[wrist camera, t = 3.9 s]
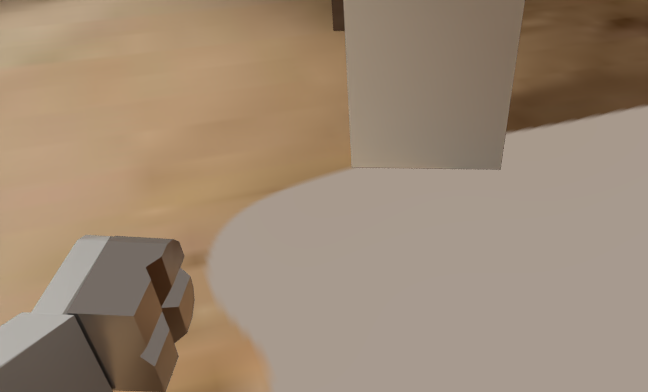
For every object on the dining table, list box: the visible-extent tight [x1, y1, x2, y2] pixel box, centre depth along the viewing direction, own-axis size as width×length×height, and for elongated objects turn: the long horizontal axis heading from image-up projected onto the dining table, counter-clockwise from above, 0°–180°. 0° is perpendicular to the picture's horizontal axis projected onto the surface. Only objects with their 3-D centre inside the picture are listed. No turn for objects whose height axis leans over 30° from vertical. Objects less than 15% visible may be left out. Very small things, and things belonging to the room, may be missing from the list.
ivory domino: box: [343, 0, 525, 169], centre depth 18 cm, size 2×5×10 cm, turn 84°
